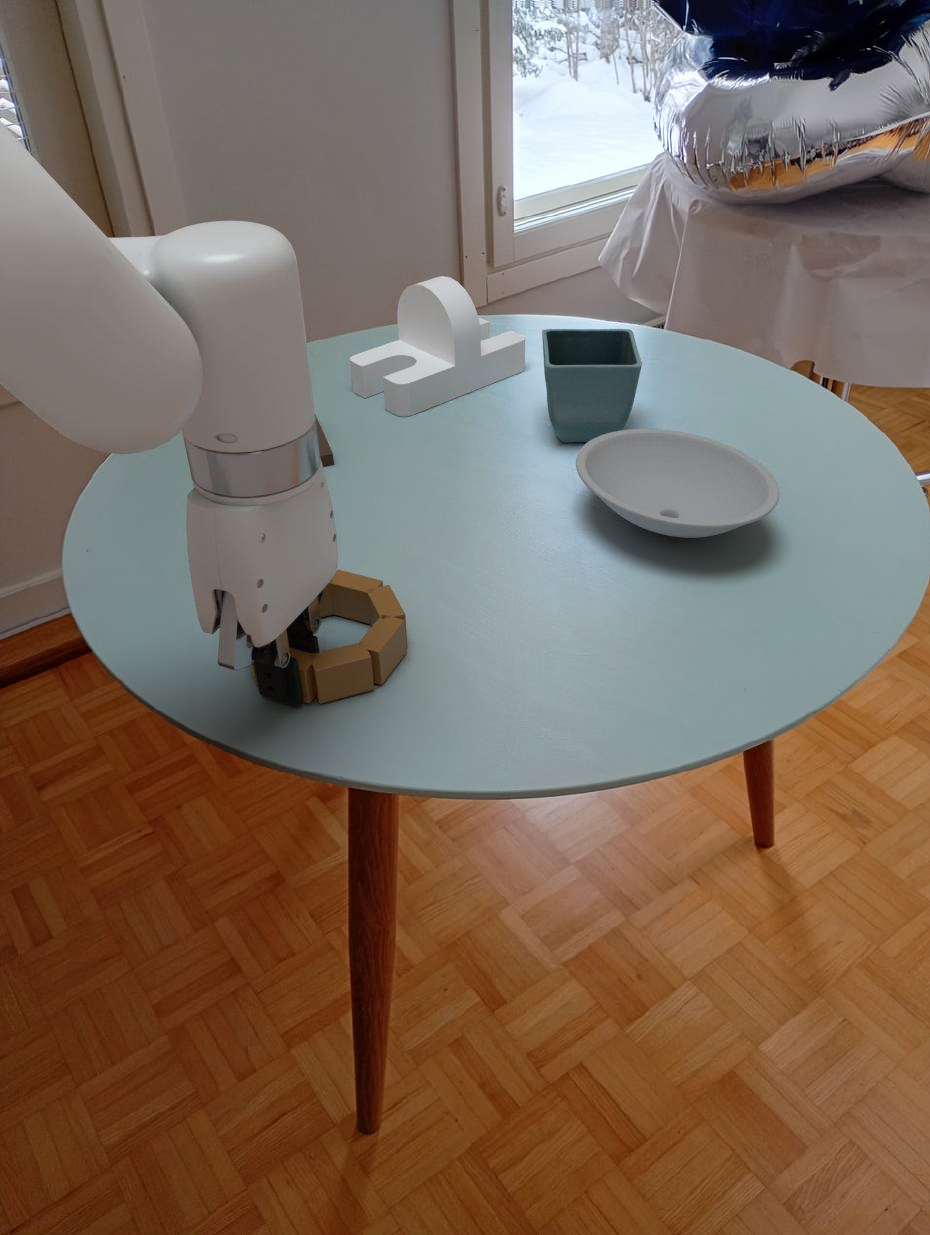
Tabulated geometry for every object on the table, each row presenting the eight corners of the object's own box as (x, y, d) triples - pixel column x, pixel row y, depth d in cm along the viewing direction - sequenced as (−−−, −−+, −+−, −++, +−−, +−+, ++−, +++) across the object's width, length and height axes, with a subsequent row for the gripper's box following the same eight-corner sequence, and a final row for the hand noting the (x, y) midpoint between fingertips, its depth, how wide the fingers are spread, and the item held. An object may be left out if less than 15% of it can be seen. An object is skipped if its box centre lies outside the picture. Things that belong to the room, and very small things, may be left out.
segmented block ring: (266, 718, 66) (260, 684, 64) (235, 622, 74) (229, 590, 72) (424, 677, 69) (422, 644, 67) (377, 590, 77) (374, 558, 76)
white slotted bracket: (529, 368, 110) (531, 272, 103) (402, 418, 101) (396, 316, 94) (472, 344, 116) (471, 251, 109) (348, 389, 107) (338, 291, 100)
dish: (535, 517, 86) (537, 466, 82) (640, 460, 93) (644, 411, 90) (703, 603, 75) (712, 549, 72) (805, 531, 83) (816, 479, 80)
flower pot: (634, 453, 94) (643, 364, 89) (542, 453, 94) (545, 365, 89) (624, 412, 101) (632, 327, 96) (538, 412, 101) (541, 328, 96)
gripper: (273, 387, 64) (304, 612, 75) (112, 504, 53) (178, 748, 64) (375, 407, 61) (392, 636, 73) (229, 533, 50) (276, 782, 61)
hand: (291, 687), depth 68 cm, fingers closed on segmented block ring
